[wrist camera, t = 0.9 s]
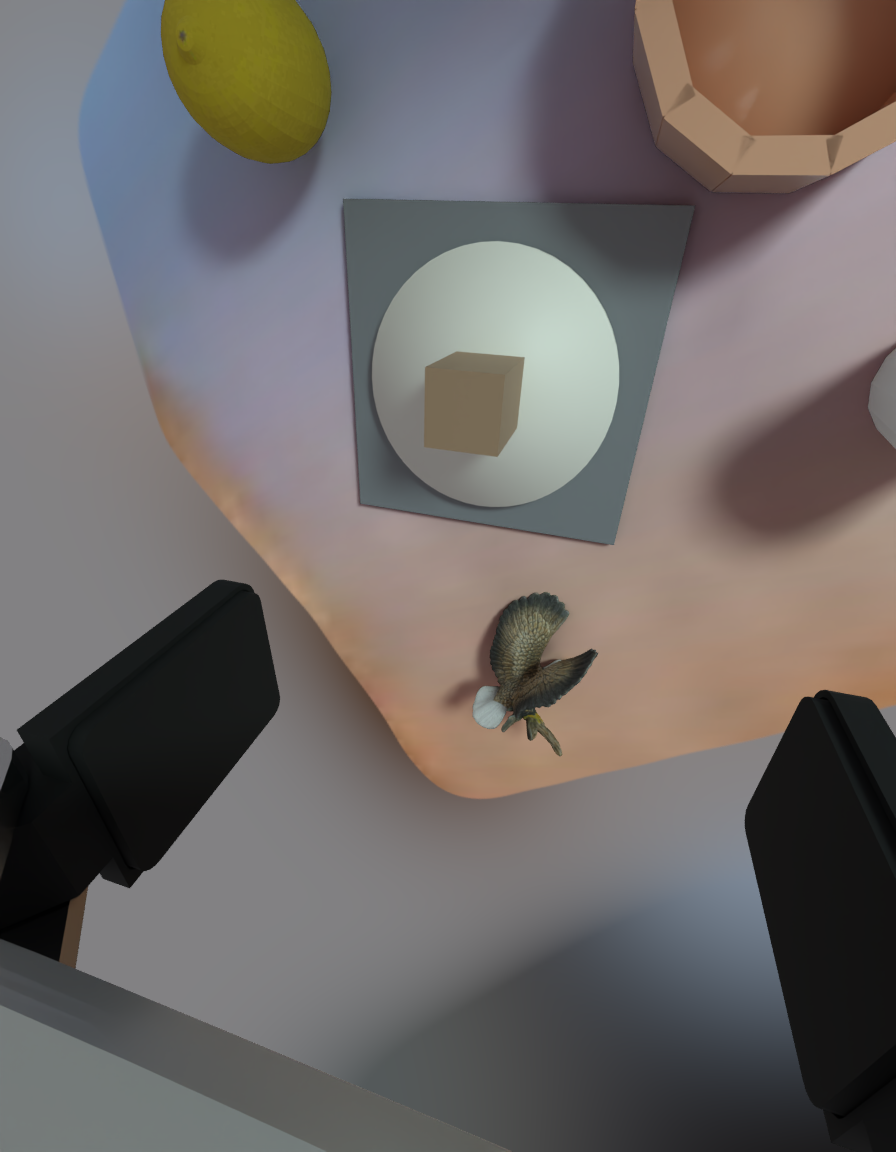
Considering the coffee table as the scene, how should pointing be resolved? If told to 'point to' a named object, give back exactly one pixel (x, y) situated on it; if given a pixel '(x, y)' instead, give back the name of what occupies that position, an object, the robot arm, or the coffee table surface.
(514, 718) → the eagle figurine
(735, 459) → the coffee table surface
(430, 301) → the lid
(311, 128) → the lemon
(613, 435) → the mat
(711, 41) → the bowl
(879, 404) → the shot glass
